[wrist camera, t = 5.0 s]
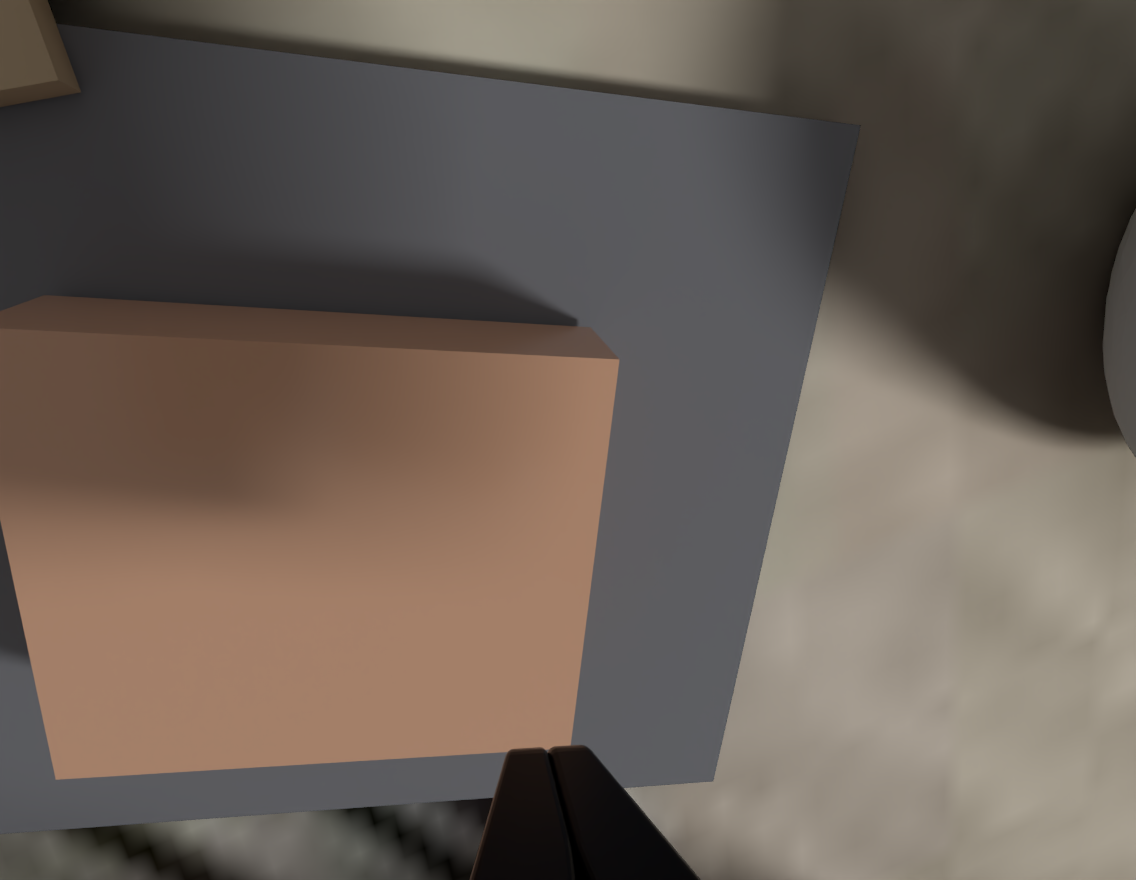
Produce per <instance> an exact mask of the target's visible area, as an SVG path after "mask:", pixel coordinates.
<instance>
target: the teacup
mask: <svg viewBox="0 0 1136 880" xmlns="http://www.w3.org/2000/svg"><path fill="white" fill-rule="evenodd" d="M1103 358H1104V373H1105V378H1106V383H1107V388H1108V393H1109V397H1110V401H1111V405H1112V409H1113V413H1114V416H1115V418H1116V421H1117V423H1118V425H1119V427H1120V430H1121V432H1122V434H1123V437H1124V439H1125V441H1126V443H1127V445H1128V446H1129V448H1130V450H1131V451H1132V453H1133V454H1134V456H1135V457H1136V208H1135V211H1134V213H1133V215H1132V216H1131V218H1130V221H1129V223H1128V226H1127V228H1126V231H1125V233H1124V236H1123V238H1122V241H1121V243H1120V246H1119V248H1118V252H1117V255H1116V259H1115V262H1114V266H1113V269H1112V273H1111V278H1110V285H1109V290H1108V294H1107V298H1106V311H1105V323H1104V335H1103Z"/></svg>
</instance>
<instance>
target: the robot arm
mask: <svg viewBox="0 0 1136 880" xmlns="http://www.w3.org/2000/svg"><path fill="white" fill-rule="evenodd" d="M470 880H700V878H699V877H698V876H697V875H696V874H695V872H694V871H693V870H692V869H691V868H690V867H689V865H688V864H687V863H686V862H685V861H684V859H683V858H682V857H681V856H680V855H679V853H678V852H677V851H676V850H675V849H674V848H673V846H672V845H671V844H670V843H669V842H668V840H667V839H666V838H665V837H664V836H663V835H662V833H661V832H660V831H659V830H658V829H657V827H656V826H655V825H654V824H653V823H652V821H651V820H650V819H649V818H648V817H647V816H646V814H645V813H644V812H643V811H642V810H641V808H640V807H639V806H638V805H637V804H636V802H635V801H634V800H633V799H632V798H631V797H630V795H629V794H628V793H627V792H626V791H625V789H624V788H623V787H622V786H621V785H620V784H619V782H618V781H617V780H616V779H615V778H614V776H613V775H612V774H611V773H610V772H609V770H608V769H607V768H606V767H605V766H604V765H603V763H602V762H601V761H600V760H599V759H598V757H597V756H596V755H595V754H594V753H593V751H592V750H591V749H590V748H588V747H587V746H585V745H568V746H554V747H552V748H550V749H549V750H548V752H547V751H546V750H545V749H544V748H542V747H535V748H519V749H511V750H509V751H508V752H507V754H506V756H505V760H504V763H503V766H502V770H501V773H500V777H499V780H498V784H497V787H496V790H495V794H494V797H493V801H492V804H491V808H490V811H489V814H488V818H487V821H486V825H485V828H484V832H483V835H482V838H481V842H480V845H479V849H478V852H477V856H476V859H475V862H474V866H473V869H472V873H471V876H470Z"/></svg>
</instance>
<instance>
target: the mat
mask: <svg viewBox="0 0 1136 880" xmlns="http://www.w3.org/2000/svg"><path fill="white" fill-rule="evenodd" d="M56 25H57V28H58V30H59V33H60V36H61V39H62V41H63V44H64V47H65V49H66V52H67V55H68V58H69V60H70V63H71V66H72V69H73V71H74V74H75V77H76V79H77V82H78V85H79V88H80V90H81V92H80V93H75V94H69V95H64V96H58V97H53V98H47V99H42V100H37V101H31V102H26V103H20V104H15V105H9V106H4V107H0V311H2V310H5V309H8V308H10V307H13V306H16V305H19V304H21V303H24V302H27V301H30V300H32V299H35V298H38V297H40V296H43V295H52V296H69V297H86V298H103V299H120V300H137V301H154V302H171V303H188V304H205V305H222V306H239V307H256V308H273V309H290V310H307V311H324V312H341V313H358V314H374V315H391V316H408V317H425V318H442V319H459V320H476V321H493V322H510V323H527V324H544V325H561V326H578V327H591V328H592V330H593V331H594V332H595V333H596V334H597V335H598V336H599V337H600V338H601V340H602V341H603V342H604V343H605V344H606V345H607V346H608V347H609V348H610V349H611V351H612V352H613V353H614V354H615V355H616V356H617V357H618V358H619V359H620V360H619V368H618V376H617V384H616V392H615V400H614V407H613V415H612V423H611V431H610V439H609V447H608V455H607V463H606V471H605V478H604V486H603V494H602V502H601V510H600V518H599V526H598V534H597V542H596V549H595V557H594V565H593V573H592V581H591V589H590V597H589V605H588V613H587V620H586V628H585V636H584V644H583V652H582V660H581V668H580V676H579V684H578V691H577V699H576V707H575V715H574V723H573V731H572V739H571V745H585V746H587V747H588V748H590V749H591V750H592V751H593V753H594V754H595V755H596V756H597V757H598V759H599V760H600V761H601V762H602V763H603V765H604V766H605V767H606V768H607V769H608V770H609V772H610V773H611V774H612V775H613V776H614V778H615V779H616V780H617V781H618V782H619V784H620V785H621V786H622V787H623V788H630V787H643V786H657V785H670V784H684V783H697V782H711V781H713V780H714V775H715V771H716V766H717V762H718V758H719V753H720V749H721V744H722V740H723V735H724V731H725V726H726V722H727V718H728V713H729V709H730V704H731V700H732V695H733V691H734V686H735V682H736V677H737V673H738V669H739V664H740V660H741V655H742V651H743V646H744V642H745V637H746V633H747V629H748V624H749V620H750V615H751V611H752V606H753V602H754V597H755V593H756V589H757V584H758V580H759V575H760V571H761V566H762V562H763V557H764V553H765V549H766V544H767V540H768V535H769V531H770V526H771V522H772V517H773V513H774V509H775V504H776V500H777V495H778V491H779V486H780V482H781V477H782V473H783V469H784V464H785V460H786V455H787V451H788V446H789V442H790V437H791V433H792V429H793V424H794V420H795V415H796V411H797V406H798V402H799V397H800V393H801V389H802V384H803V380H804V375H805V371H806V366H807V362H808V357H809V353H810V349H811V344H812V340H813V335H814V331H815V326H816V322H817V317H818V313H819V309H820V304H821V300H822V295H823V291H824V286H825V282H826V277H827V273H828V269H829V264H830V260H831V255H832V251H833V246H834V242H835V237H836V233H837V229H838V224H839V220H840V215H841V211H842V206H843V202H844V197H845V193H846V189H847V184H848V180H849V175H850V171H851V166H852V162H853V157H854V153H855V149H856V144H857V140H858V135H859V131H860V126H861V125H854V124H846V123H838V122H830V121H822V120H814V119H806V118H798V117H791V116H783V115H775V114H767V113H759V112H751V111H743V110H735V109H727V108H719V107H711V106H704V105H696V104H688V103H680V102H672V101H664V100H656V99H648V98H640V97H632V96H625V95H617V94H609V93H601V92H593V91H585V90H577V89H569V88H561V87H553V86H546V85H538V84H530V83H522V82H514V81H506V80H498V79H490V78H482V77H474V76H467V75H459V74H451V73H443V72H435V71H427V70H419V69H411V68H403V67H395V66H387V65H380V64H372V63H364V62H356V61H348V60H340V59H332V58H324V57H316V56H308V55H301V54H293V53H285V52H277V51H269V50H261V49H253V48H245V47H237V46H229V45H222V44H214V43H206V42H198V41H190V40H182V39H174V38H166V37H158V36H150V35H143V34H135V33H127V32H119V31H111V30H103V29H95V28H87V27H79V26H71V25H63V24H56ZM548 750H549V749H548ZM548 750H546V751H547V752H548ZM506 754H507V752H500V753H483V754H467V755H451V756H434V757H418V758H402V759H385V760H369V761H353V762H337V763H320V764H304V765H288V766H271V767H255V768H239V769H223V770H206V771H190V772H174V773H157V774H141V775H125V776H109V777H92V778H76V779H60V780H56V778H55V774H54V769H53V764H52V760H51V755H50V750H49V746H48V741H47V736H46V732H45V727H44V722H43V717H42V713H41V708H40V703H39V699H38V694H37V689H36V685H35V680H34V675H33V671H32V666H31V661H30V657H29V652H28V647H27V643H26V638H25V633H24V629H23V624H22V619H21V615H20V610H19V605H18V601H17V596H16V591H15V587H14V582H13V577H12V573H11V568H10V563H9V559H8V554H7V549H6V545H5V540H4V535H3V531H2V526H1V521H0V834H7V833H20V832H34V831H47V830H61V829H74V828H88V827H102V826H115V825H129V824H142V823H156V822H169V821H183V820H196V819H210V818H223V817H237V816H251V815H264V814H278V813H291V812H305V811H318V810H332V809H345V808H359V807H372V806H386V805H399V804H413V803H427V802H440V801H454V800H467V799H481V798H493V797H494V794H495V790H496V787H497V784H498V780H499V777H500V773H501V770H502V766H503V763H504V760H505V756H506Z"/></svg>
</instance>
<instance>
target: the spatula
mask: <svg viewBox="0 0 1136 880" xmlns="http://www.w3.org/2000/svg"><path fill="white" fill-rule="evenodd" d="M80 92H81V90H80V88H79V85H78V82H77V79H76V77H75V74H74V71H73V69H72V66H71V63H70V60H69V58H68V55H67V52H66V49H65V47H64V44H63V41H62V39H61V36H60V33H59V30H58V28H57V25H56V22H55V19H54V17H53V14H52V11H51V9H50V6H49V3H48V0H0V107H4V106H9V105H15V104H20V103H26V102H31V101H37V100H42V99H47V98H53V97H58V96H64V95H69V94H75V93H80Z"/></svg>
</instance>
